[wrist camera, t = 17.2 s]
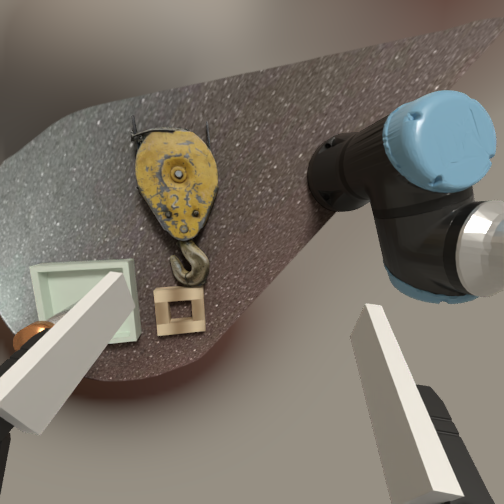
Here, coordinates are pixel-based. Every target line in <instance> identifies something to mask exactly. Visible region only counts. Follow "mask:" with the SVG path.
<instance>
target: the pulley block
mask: <svg viewBox="0 0 504 504" xmlns="http://www.w3.org/2000/svg"><path fill="white" fill-rule="evenodd" d="M206 128H207V136H208V141H207V143H208V147H207V145H206V144H205V143H204V142H203V141H202V140H201V139H200V138H199V137H198V136H197V135H196V134H194V133H193V132H190V130H189V131H188V129H185V130H184V129H181V128H172V127H160V128H153V129H148V130H146V131H144V132H140V133H138V132H137V129H136V124H135V118H134V115H132V131H133V133H132V132H131V142H132V141H135V143H136V149H137V155H136V162H135V174H136V179H137V184H138V187H136V188H137V189H139V191H140V192H139V194H140V195H141V196H142V197H143V198H144V199H145V200H146V202H147V204H148V205H149V207H150V209H151V210H152V212H153V213H154V215H155V216H156V218H157V220H158V221H159V223H160V224H161V226H162V228H163V229H164V231H166V232H167V233H169V234H170V235H171V236H172V237H174V238H175V239H177V240H178V241H177V243H176V245H177V246H178V247H180V248H181V250H182V252H183V255H184V256H185V258H186V260H187V261H188V262H189V263H190V264H191V266H192V270H191V272H189V271H186V270H185V269H184V268H183V265H182V263H181V262H180V260H179V259H178V257H176V256H175V255H172V256H170V262H171V266H172V270H173V274H174V276H175V278H176V279H177V280H178V281H179V282H180V283H182V284H184V285H186V286H190V287H192V286H201V285H203V284H204V283H207V282H206V279H207V276H208V274H209V261H208V258H207V256H206V255H205V254H204V253H203V252H202V251H201V250H200V249H199V248H198V247H197V246H196V245H195V244H194V242H193V240H192V238H194V237H195V236H196V235H197V233H198V232H199V231H200V229H202V228H203V227H204V226H205V224H206V221H207V219H208V216H209V214H210V211H211V208H212V206H213V203H214V200H215V197H216V194H217V192H218V171H217V166H216V163H215V160H214V157H213V155H212V153H211V149H210V138H209V130H208V122H207V121H206ZM139 135H140V136H139ZM141 135H142V139H140V137H141ZM140 142H141V143H140Z"/></svg>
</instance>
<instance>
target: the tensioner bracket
mask: <svg viewBox="0 0 504 504" xmlns="http://www.w3.org/2000/svg"><path fill="white" fill-rule="evenodd" d="M183 300H191V302H192V317H187V318H176V319H171V312H170V302H171V301H183ZM154 301H155V312H156V323H157V333H158V336H162V335H172V334H181V333H190V332H200V331H205V328H206V324H205V307H204V289H203V285H201V286H192V287H190V286H175V287H161V288H156V289H155V290H154Z"/></svg>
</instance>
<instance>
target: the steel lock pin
mask: <svg viewBox="0 0 504 504" xmlns="http://www.w3.org/2000/svg"><path fill="white" fill-rule="evenodd" d="M81 299H82V298H81ZM81 299H80V300H81ZM80 300H78V301H76V302H75V303H73V304H72V305H70V306H68V307H67V308H65V309H64V310H62V311H60V312H59V313H57V314H56V315H54V316H52V317H51V318H49V319H47V320H46V321H37V322H34V323H32V324H30V325H29V326H27V327H25V328H24V329H22V330H20V331H19V332H18V333H17V334H16V335H15V337H14V340H13V346H14V349H15V351H17V350H19V349H20V347H21V346H22V345H23V344H25V343H26V342H27V341H28V340H29V339H30V338H31V337H32V336H34V335H35V334H37V333H39V332H40V331H42V330H43V329H45V328H52V327H53V326H54V325H55V324H56V323H57V322H58V321H59V320H60V319H61V318H62V317H63V316H65V315H66V314H67V313H68V312H69V311H70V310H71V309H72V308H73V307H74V306H75V305H76V304H77V303H78V302H79V301H80Z"/></svg>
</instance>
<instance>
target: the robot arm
mask: <svg viewBox="0 0 504 504" xmlns="http://www.w3.org/2000/svg"><path fill="white" fill-rule="evenodd" d="M495 152H496V134H495V130H494V126H493V123H492V120H491V119H490V116H489V115H488V113H487V112H486V110H485V109H484V108H483V106H481V104H480V103H478V102H477V101H476V100H475V99H470V98H469V97H468V96H467V95H466V94H464V93H461V92H457V91H449V90H443V91H437V92H433V93H430V94H427V95H425V96H423V97H421V98H419V99H417V100H415V101H413V102H409V103H406V104H404V105H402V106H400V107H398V108H397V109H396V110H395V111H393V112H392V113H391V114H389V115H387V116H386V117H384V118H382V119H381V120H379V121H377V122H375V123H374V124H372V125H370V126H369V127H367V128H365V129H363V130H362V131H360V132H351V133H341V134H338V135H335V136H333V137H331V138H330V139H328V140H327V141H325V142H324V143H322V144H321V145H320V146H319V147H318V148H317V149H316V151H315V152H314V154H313V156H312V158H311V160H310V163H309V167H308V183H309V187H310V190H311V192H312V194H313V196H314V198H315V199H316V200H317V201H318V203H319V204H321V205H322V206H323V207H325V208H327V209H329V210H332V211H337V212H343V211H351V210H355V209H358V208H360V207H362V206H364V205H365V204H367V203H368V202H370V203H371V207H372V211H373V215H374V220H375V224H376V229H377V233H378V238H379V242H380V247H381V251H382V256H383V263H384V266H385V269H386V270H387V272H388V276H389V279H390V281H391V283H392V284H393V286H394V287H395V288H397V289H398V290H399V291H400V292H401V293H403V294H405V295H407V296H409V297H411V298H414V299H417V300H421V301H424V302H429V303H437V304H439V303H440V302H442V301H445V302H447V303H448V304H456V303H457V304H458V303H464V302H468V301H472V300H474V299H476V298H478V297H490V296H493V295H495V294H497V293H499V292H501V291H503V290H504V201H500V200H491V201H480V202H475V201H474V194H473V189H472V185H474V184H476V183H477V182H479V181H480V180H481V179H482V178H483V177H484V176H485V175H486V173H487V172H488V170H489V169H490V167H491V164H492V163H491V162H490V160H489V159H490V158H492V157H493V156H494V155H495ZM134 308H135V304H134V301H133V299H132V296H131V293H130V291H129V288H128V286H127V283H126V280H125V278H124V275H123V273H118V272H109V273H108V274H107V275H106V276H105V277H104V278H103V279H102V280H101V281H100V282H99V283H98V284H97V285H96V286H95V287H93V288H92V289H91V290H90V291H89V292H88V293H87V294H86V295H85V296H84V297H83V298H82V299H81V300H80V301H79V302H78V303H77V304H76V305H75V306H74V307H73V308H72V309H71V310H70V311H69V312H68V313H67V314H66V315H65V316H63V317H62V318H61V319H60V320H59V321H58V322H57V323H56V324H55V325H54V326H53V327H52V328H45V329H43V330H42V331H40V332H39V333H37V334H35V335H34V336H32V337H31V338H30V339H29V340H28V341H27V342H26V343H25V344H23V345H22V346H21V347H20V349H19V350H17V351H16V352H15V353H14V354H13V355H12V356H11V357H10V359H7V360H6V361H5V362H4V363H3V364H2V365H1V366H0V493H1V488H2V482H3V477H4V472H5V466H6V461H7V456H8V450H9V445H10V440H11V438H10V433H9V432H10V430H11V429H12V428H13V427H16V428H18V429H19V430H20V431H22V432H25V433H31V434H35V435H41V433H42V432H43V431H44V429H45V428H46V427H47V425H48V424H49V423H50V421H51V420H52V419H53V417H54V416H55V415H56V413H57V412H58V411H59V409H60V408H61V407H62V405H63V404H64V403H65V401H66V400H67V399H68V397H69V396H70V394H71V393H72V392H73V390H74V389H75V388H76V386H77V385H78V384H79V382H80V381H81V379H82V378H83V377H84V376H85V374H86V373H87V371H88V370H89V369H90V367H91V366H92V365H93V363H94V362H95V361H96V359H97V358H98V357H99V355H100V354H101V353H102V351H103V350H104V349H105V347H106V346H107V344H108V343H109V342H110V340H111V339H112V338H113V336H114V335H115V334H116V332H117V331H118V330H119V328H120V327H121V326H122V324H123V323H124V322H125V320H126V319H127V317H128V316H129V315H130V313H131V312H132V311H133V309H134ZM350 339H351V343H352V347H353V351H354V355H355V359H356V363H357V367H358V371H359V375H360V379H361V383H362V387H363V391H364V395H365V399H366V403H367V407H368V411H369V415H370V419H371V423H372V427H373V431H374V435H375V439H376V443H377V447H378V452H379V455H380V459H381V464H382V467H383V472H384V475H385V480H386V484H387V488H388V492H389V496H390V500H391V504H495V503H494V501H493V500H492V498H491V496H490V494H489V492H488V490H487V489H486V486H485V484H484V482H483V481H482V479H481V477H480V475H479V473H478V471H477V469H476V467H475V465H474V463H473V461H472V459H471V457H470V455H469V453H468V451H467V449H466V447H465V445H464V443H463V441H462V439H461V437H459V433H458V431H457V429H456V427H455V425H454V423H453V422H452V419H451V417H450V415H449V413H448V411H447V409H446V407H445V405H444V403H443V401H442V400H441V399H440V398H439V396H438V395H437V394H436V393H435V392H434V391H433V389H432V388H431V387H429V386H423V385H416V384H415V382H414V380H413V377H412V375H411V373H410V371H409V368H408V366H407V364H406V361H405V359H404V357H403V354H402V352H401V350H400V348H399V345H398V343H397V341H396V338H395V336H394V334H393V332H392V329H391V327H390V325H389V322H388V320H387V318H386V315H385V313H384V311H383V309H382V306H381V305H373V304H365V305H364V308H363V310H362V312H361V314H360V316H359V318H358V320H357V323H356V325H355V327H354V329H353V331H352V334H351V335H350Z"/></svg>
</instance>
